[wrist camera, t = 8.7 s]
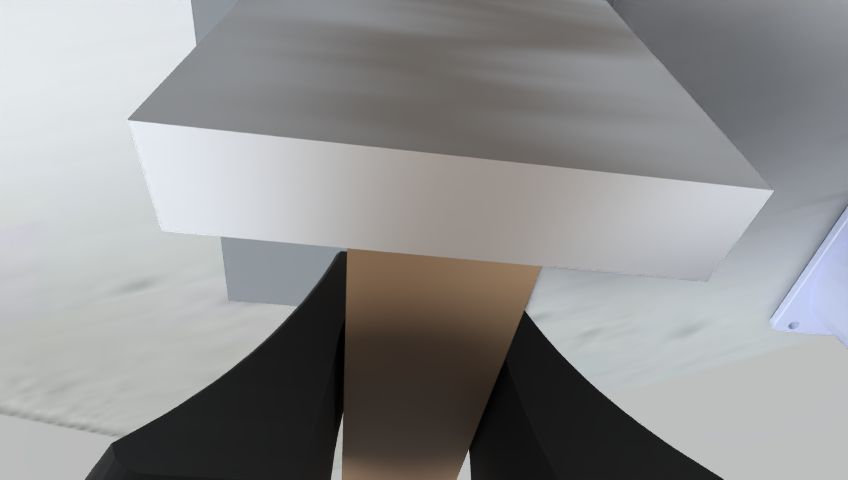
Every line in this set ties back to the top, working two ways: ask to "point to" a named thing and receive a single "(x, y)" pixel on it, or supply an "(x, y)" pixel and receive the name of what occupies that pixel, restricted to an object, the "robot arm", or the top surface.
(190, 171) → the white-capped wooden block
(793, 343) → the top surface
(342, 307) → the robot arm
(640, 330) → the top surface
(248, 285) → the mat
